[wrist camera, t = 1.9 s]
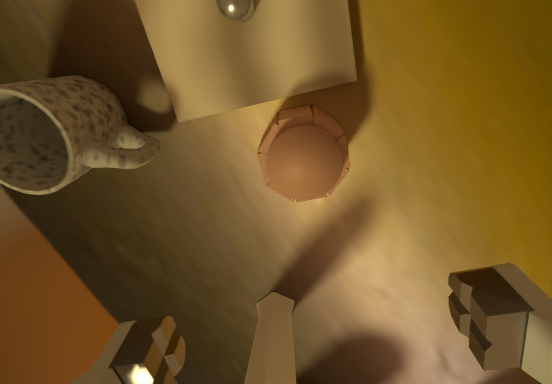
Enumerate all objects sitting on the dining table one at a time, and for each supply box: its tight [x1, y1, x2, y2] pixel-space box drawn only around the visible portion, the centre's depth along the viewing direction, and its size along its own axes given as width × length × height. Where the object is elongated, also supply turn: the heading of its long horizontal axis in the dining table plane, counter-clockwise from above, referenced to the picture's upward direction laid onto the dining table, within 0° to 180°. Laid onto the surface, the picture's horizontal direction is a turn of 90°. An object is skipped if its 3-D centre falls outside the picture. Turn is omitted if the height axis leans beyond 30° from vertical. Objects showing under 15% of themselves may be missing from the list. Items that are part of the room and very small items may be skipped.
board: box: [135, 0, 357, 122], centre depth 20 cm, size 13×12×1 cm
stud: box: [216, 0, 255, 23], centre depth 18 cm, size 2×2×3 cm
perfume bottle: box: [244, 292, 296, 384], centre depth 25 cm, size 5×4×15 cm
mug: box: [0, 75, 160, 195], centre depth 22 cm, size 10×7×7 cm, turn 75°
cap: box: [257, 104, 350, 202], centre depth 22 cm, size 6×6×4 cm
